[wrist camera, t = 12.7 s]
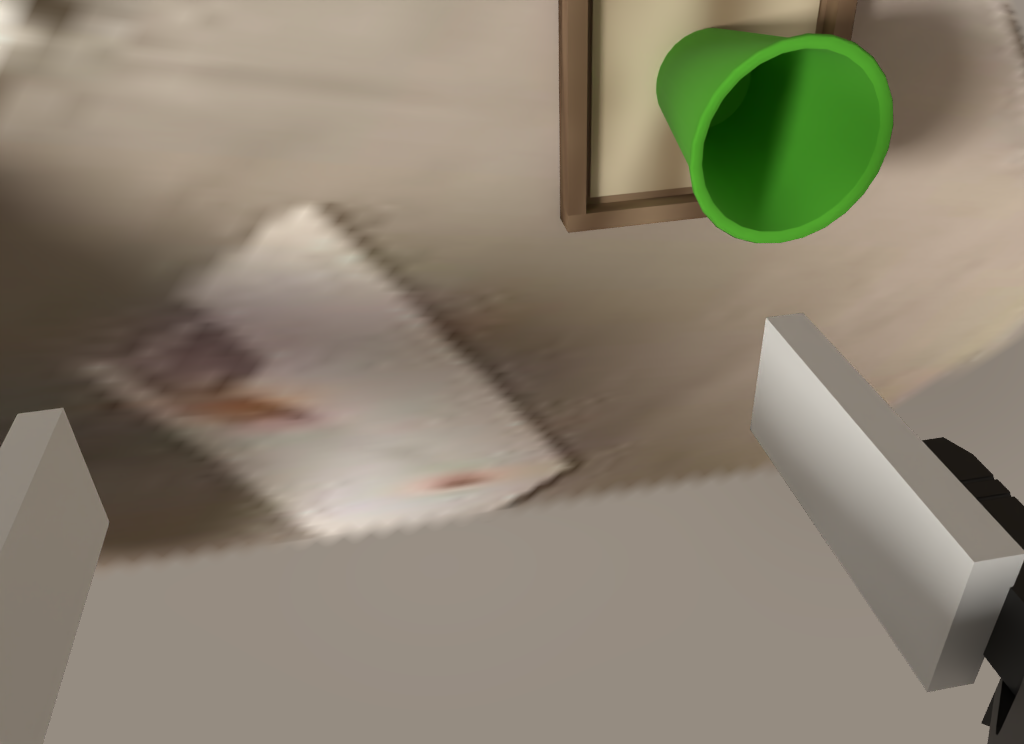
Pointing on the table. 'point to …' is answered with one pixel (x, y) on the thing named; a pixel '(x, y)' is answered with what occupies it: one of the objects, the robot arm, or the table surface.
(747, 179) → the cup
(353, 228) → the table surface
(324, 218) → the table surface
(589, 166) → the tray
